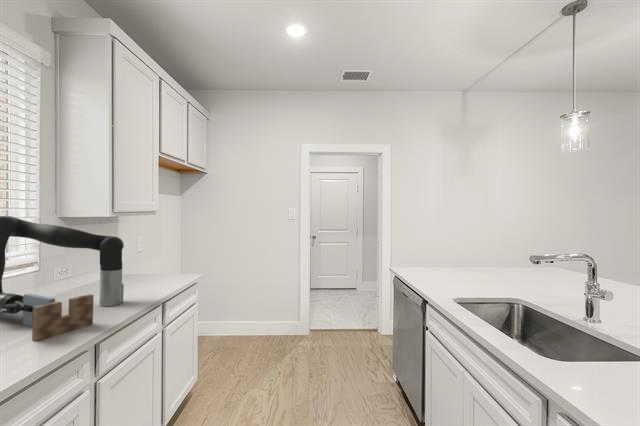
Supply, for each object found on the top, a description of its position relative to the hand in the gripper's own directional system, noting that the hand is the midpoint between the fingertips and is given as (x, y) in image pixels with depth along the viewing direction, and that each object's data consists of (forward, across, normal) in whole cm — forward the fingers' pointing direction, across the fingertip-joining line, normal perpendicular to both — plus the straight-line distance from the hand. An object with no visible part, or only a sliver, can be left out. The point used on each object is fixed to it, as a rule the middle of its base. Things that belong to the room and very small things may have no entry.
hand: (35, 308), depth 132 cm
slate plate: (+2, 0, +7) cm, 7 cm away
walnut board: (+16, +1, +7) cm, 18 cm away
